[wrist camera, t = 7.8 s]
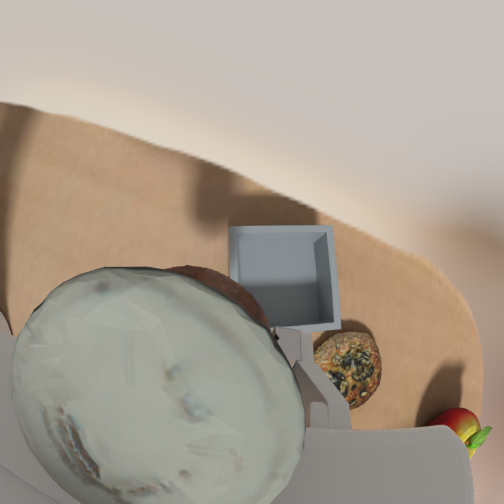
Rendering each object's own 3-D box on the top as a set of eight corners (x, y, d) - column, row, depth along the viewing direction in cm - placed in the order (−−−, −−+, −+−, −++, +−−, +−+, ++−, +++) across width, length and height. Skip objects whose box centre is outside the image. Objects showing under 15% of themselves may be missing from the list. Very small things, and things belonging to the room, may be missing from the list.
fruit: (408, 421, 33) (448, 439, 24) (455, 392, 35) (496, 400, 25) (410, 470, 31) (444, 492, 22) (455, 440, 33) (491, 454, 23)
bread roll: (365, 414, 33) (378, 422, 28) (290, 399, 34) (295, 407, 30) (387, 339, 36) (403, 338, 32) (315, 321, 37) (323, 318, 33)
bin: (231, 334, 34) (232, 337, 28) (227, 240, 37) (228, 226, 31) (323, 327, 35) (341, 328, 30) (316, 239, 38) (332, 225, 32)
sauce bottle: (160, 358, 21) (-25, 488, 2) (170, 281, 22) (-25, 167, 3) (242, 370, 21) (312, 582, 2) (252, 293, 23) (396, 212, 3)
